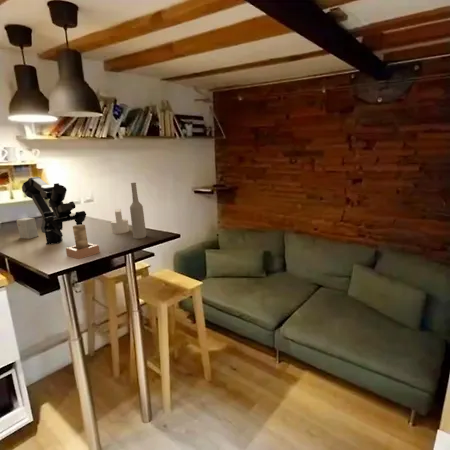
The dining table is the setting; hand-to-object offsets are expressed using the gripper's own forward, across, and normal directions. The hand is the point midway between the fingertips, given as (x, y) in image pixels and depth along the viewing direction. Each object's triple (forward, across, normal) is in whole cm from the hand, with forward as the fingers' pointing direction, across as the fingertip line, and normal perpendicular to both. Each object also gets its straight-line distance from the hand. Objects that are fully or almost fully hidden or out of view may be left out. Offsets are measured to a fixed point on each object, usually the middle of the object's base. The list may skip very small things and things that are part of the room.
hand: (72, 233), depth 154 cm
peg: (+12, 0, 0) cm, 12 cm away
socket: (+12, 0, 0) cm, 12 cm away
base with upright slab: (-4, +32, +16) cm, 36 cm away
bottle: (+10, +31, +2) cm, 33 cm away
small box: (-30, -4, +42) cm, 51 cm away
